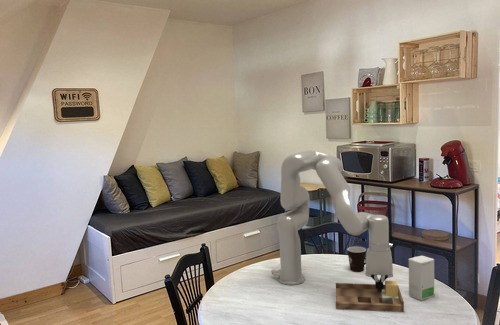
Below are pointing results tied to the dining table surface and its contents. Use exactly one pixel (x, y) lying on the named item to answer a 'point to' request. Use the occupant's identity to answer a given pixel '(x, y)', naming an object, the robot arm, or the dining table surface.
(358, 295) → the board
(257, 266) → the dining table surface
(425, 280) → the skincare box
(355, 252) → the coffee mug
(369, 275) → the robot arm
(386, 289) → the ochre block
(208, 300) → the dining table surface
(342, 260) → the dining table surface
